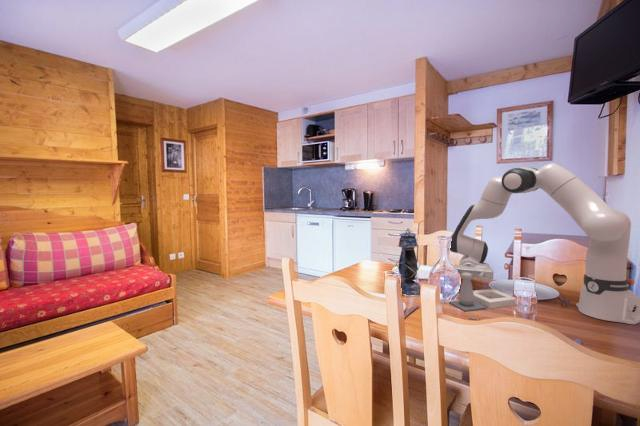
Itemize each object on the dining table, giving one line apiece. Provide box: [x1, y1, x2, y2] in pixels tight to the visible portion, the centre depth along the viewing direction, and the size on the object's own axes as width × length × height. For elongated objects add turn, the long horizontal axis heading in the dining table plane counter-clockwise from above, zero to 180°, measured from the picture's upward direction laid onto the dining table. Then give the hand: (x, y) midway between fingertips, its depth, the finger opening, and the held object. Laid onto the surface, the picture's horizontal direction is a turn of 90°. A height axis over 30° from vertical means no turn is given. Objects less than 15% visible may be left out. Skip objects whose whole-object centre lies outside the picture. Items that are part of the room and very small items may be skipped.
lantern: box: [395, 228, 421, 296], centre depth 145 cm, size 15×12×30 cm
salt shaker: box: [458, 272, 475, 306], centre depth 126 cm, size 6×6×13 cm
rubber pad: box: [448, 299, 487, 313], centre depth 127 cm, size 10×10×1 cm
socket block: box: [473, 288, 516, 309], centre depth 132 cm, size 14×14×2 cm
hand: (467, 275), depth 136 cm, fingers open, 8 cm apart
